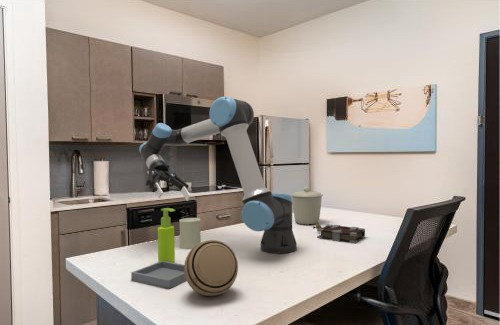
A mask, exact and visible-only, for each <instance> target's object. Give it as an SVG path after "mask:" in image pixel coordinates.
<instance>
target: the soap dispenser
mask: <svg viewBox="0 0 500 325" xmlns="http://www.w3.org/2000/svg"><path fill="white" fill-rule="evenodd" d="M160 211H161V212H163V216H162V217H161V218H160V226H158V227H157V257H158V258H157V260H158V262H160V261H165V262H171V263H176V259H175V258H176V257H175V255H176V253H175V252H176V250H175V247H176V246H175V245H176V243H175V226H174V225H171V217H170V216H169V212H171V213H172V212H176V209H174V208H170V207H169V208H168V207H166V208H165V207H163V208H161V209H160ZM158 262H157V263H158Z"/></svg>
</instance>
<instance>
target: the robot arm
mask: <svg viewBox="0 0 500 325" xmlns="http://www.w3.org/2000/svg"><path fill="white" fill-rule="evenodd" d="M254 112H255V110H254V109H253V107H252V106H251V104H250V103H248V102H247V101H245V100H241V99H240V100H239V99H235V98H233V97H231V96H220V97H218V98H217V99H215V100H214V101H213V103H212V104H211V105H210V108H209V118H208V119H205V120H202V121H199V122H197V123H194V124H190V125H188V126H185V127H182V128H179V129H172V128H171V127H170V126H169V125H167V124H165V123H162V122H159V123H156V125H155V126H154V128H153V129H152V132H151V134H150V135H149V138H148V140H147V141H145V142H143V143H141V144H140V145H139V149H138V151H139V153H140V156H141V158H142V160H143V161H144V163H145V164H146V167H147V168H148V170H147V172H146V176H147V177H146V179H145V186H147V187H148V186H149V188H150V189H152V190H153V191H154V192H155V195H156V196H157V198H158V199H161V197H162V196H163V194H164V192H163V190H162V188H161V187H160V184H159V183H158V181H159V180H160V181H161V182H166V183H167V184H171V185H173V186H174V187H176V188H177V189H179V191H180V192H181V194H182V196H183V198H184V199H185V200H186V201H187V202H189V200H190V199H191V194H190V192H189V190H188V189H189V187H190V185H189V184H188V183H186V182H185V181H184V180H183V179H181V178H180V177H179V176H178V175H177V173H175V172H173V173H171V172H169V167H168V165H167V164H166V162H165V160H164V159H163V157H162V155H161V153H162V151H163V149H164V147H165V146H178V147H184V146H187V145H188V144H190V143H192V142H195V141H199V140H201V139H204V138H209V137H211V136H214V135H217V134H220V136H223V137H225V139H226V142H227V145H228V148H229V151H230V155H231V158H232V161H233V163H234V167H235V170H236V172H237V176H238V178H239V182H240V185H241V189H242V190H243V191H242V192H243V194H244V195H243V197H242V200H241V201H242V204H243V207H242V210H241V218H242V222H243V223H244V224H245V226H246V227H247V228H248V229H250V230H251V231H253V232H263V233H262V237H261V240H260V244H259V245H260V246H259V247H260V250H261V251H263V252H266V253H270V254H286V253H287V254H288V253H293V252H295V251H296V250H297V249H298V248H297V246H298V243H297V241H296V238H295V234H294V232H293V202H292V196H291V194H287V193H275V192H274V193H273V192H272V191H271V189H268V188H267V187H266V184H265V181H264V178H263V177H262V173H261V170H260V167H259V163H258V162H257V158H256V155H255V151H254V149H253V147H252V143H251V140H250V137H249V135H248V132H247V130H248V128H249V126H250V125H251V124H252V123H253V120H254V119H255V113H254ZM152 177H153V180H152Z"/></svg>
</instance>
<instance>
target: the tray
mask: <svg viewBox="0 0 500 325" xmlns="http://www.w3.org/2000/svg"><path fill="white" fill-rule="evenodd" d="M130 276H131V279H130V280H131V281H133V282H136V281H137V283H141V284H145V283H146V285H149V284H150V285H151V286H154V285H155V286H154V287H158V286H159V288H162V287H163V288H162V289H168V290H170V289H172V288H174V287H176V286H178V285H180V284H182V283H184V282H187V280H186V278H185V273H184V264H183V263H176V262H175V263H171V262H165V261H160V262H156V263H152V264H149V265H148V266H145V267H142V268H139V269H137V270H134V271H132V272H131V274H130ZM150 285H149V286H150Z"/></svg>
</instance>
